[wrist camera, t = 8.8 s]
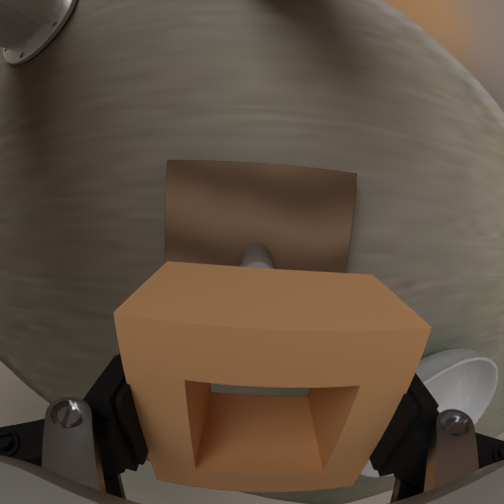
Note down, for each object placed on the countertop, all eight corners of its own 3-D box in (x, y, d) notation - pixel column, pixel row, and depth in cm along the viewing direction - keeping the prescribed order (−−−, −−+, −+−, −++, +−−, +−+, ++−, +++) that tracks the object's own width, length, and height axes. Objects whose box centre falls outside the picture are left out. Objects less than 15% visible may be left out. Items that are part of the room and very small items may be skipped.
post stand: (172, 161, 22) (105, 147, 11) (350, 174, 22) (426, 172, 11) (172, 324, 26) (130, 406, 15) (328, 333, 26) (364, 418, 15)
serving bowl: (312, 443, 30) (319, 482, 24) (393, 313, 26) (425, 348, 19) (419, 441, 32) (433, 469, 25) (492, 338, 27) (519, 361, 20)
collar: (167, 261, 9) (113, 312, 5) (372, 274, 9) (431, 327, 5) (178, 410, 11) (157, 479, 7) (333, 417, 11) (351, 485, 7)
